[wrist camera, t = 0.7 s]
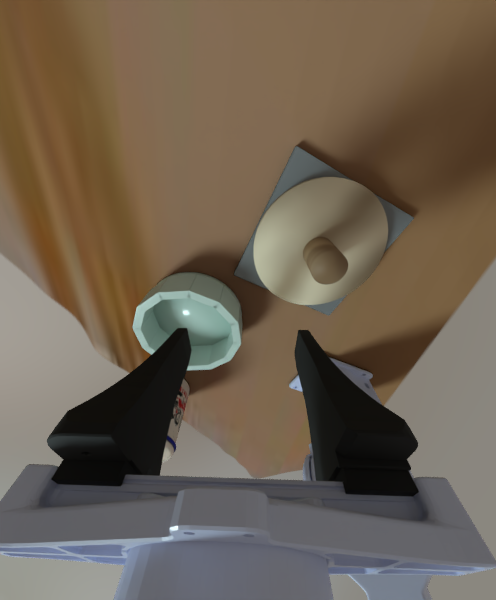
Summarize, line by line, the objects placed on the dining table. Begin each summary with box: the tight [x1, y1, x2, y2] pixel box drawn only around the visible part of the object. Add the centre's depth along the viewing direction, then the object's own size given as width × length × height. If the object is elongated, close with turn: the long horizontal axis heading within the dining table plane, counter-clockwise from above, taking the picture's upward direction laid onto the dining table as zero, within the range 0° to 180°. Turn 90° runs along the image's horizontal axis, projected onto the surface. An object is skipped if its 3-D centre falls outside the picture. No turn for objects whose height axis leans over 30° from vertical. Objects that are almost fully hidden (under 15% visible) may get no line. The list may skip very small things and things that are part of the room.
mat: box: [234, 146, 414, 315], centre depth 21 cm, size 12×12×1 cm
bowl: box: [132, 272, 243, 370], centre depth 24 cm, size 11×11×4 cm
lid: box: [253, 177, 388, 305], centre depth 19 cm, size 12×12×4 cm
